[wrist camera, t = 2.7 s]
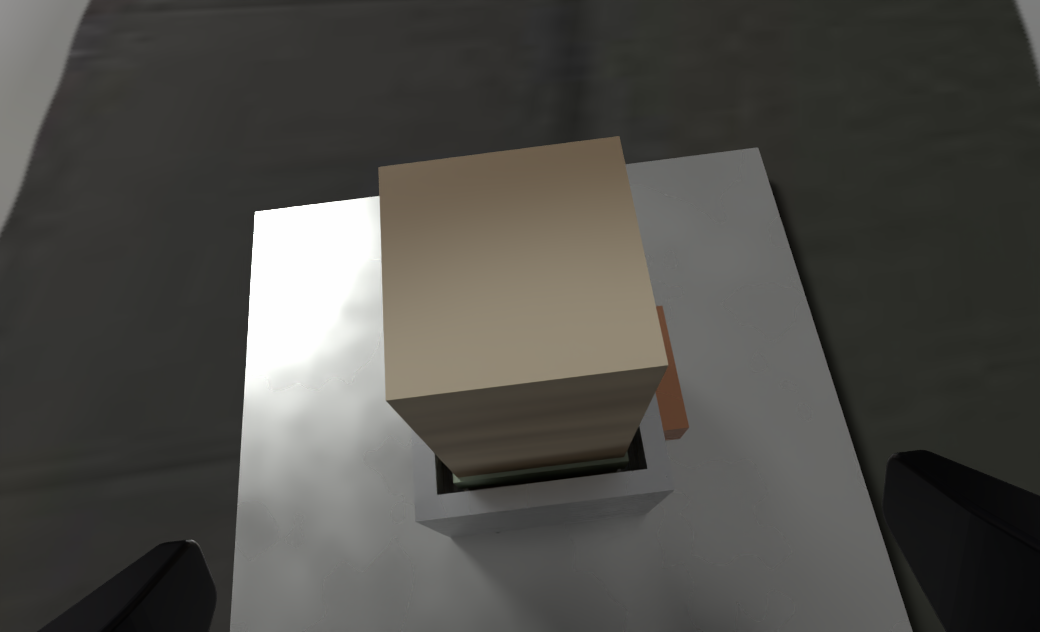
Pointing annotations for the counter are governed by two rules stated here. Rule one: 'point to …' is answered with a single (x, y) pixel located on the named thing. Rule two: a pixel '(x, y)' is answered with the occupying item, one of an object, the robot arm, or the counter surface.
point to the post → (518, 311)
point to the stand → (568, 502)
